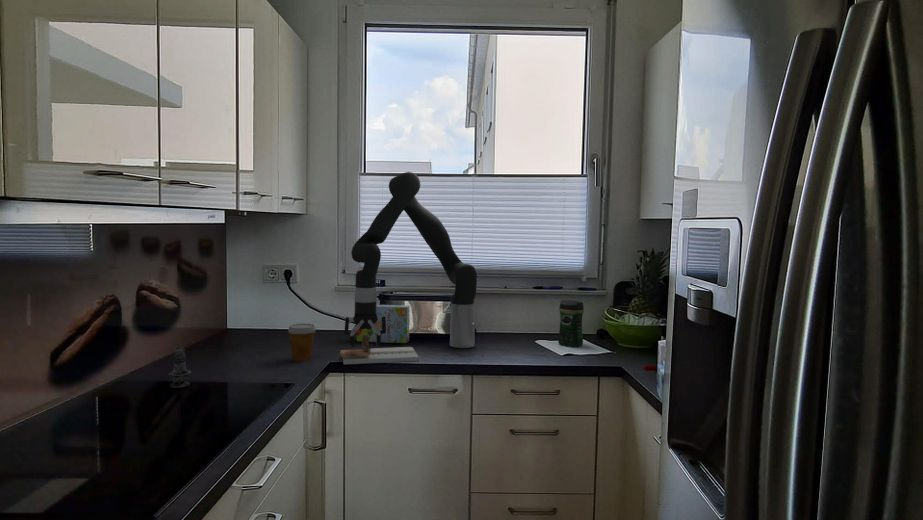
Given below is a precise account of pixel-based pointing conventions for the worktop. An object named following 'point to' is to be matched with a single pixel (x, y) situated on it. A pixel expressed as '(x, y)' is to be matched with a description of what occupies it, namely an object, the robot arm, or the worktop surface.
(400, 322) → the snack box
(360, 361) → the board
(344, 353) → the stub
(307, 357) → the disposable coffee cup
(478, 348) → the worktop surface
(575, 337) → the coffee jar
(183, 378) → the dark grey tiered piece
